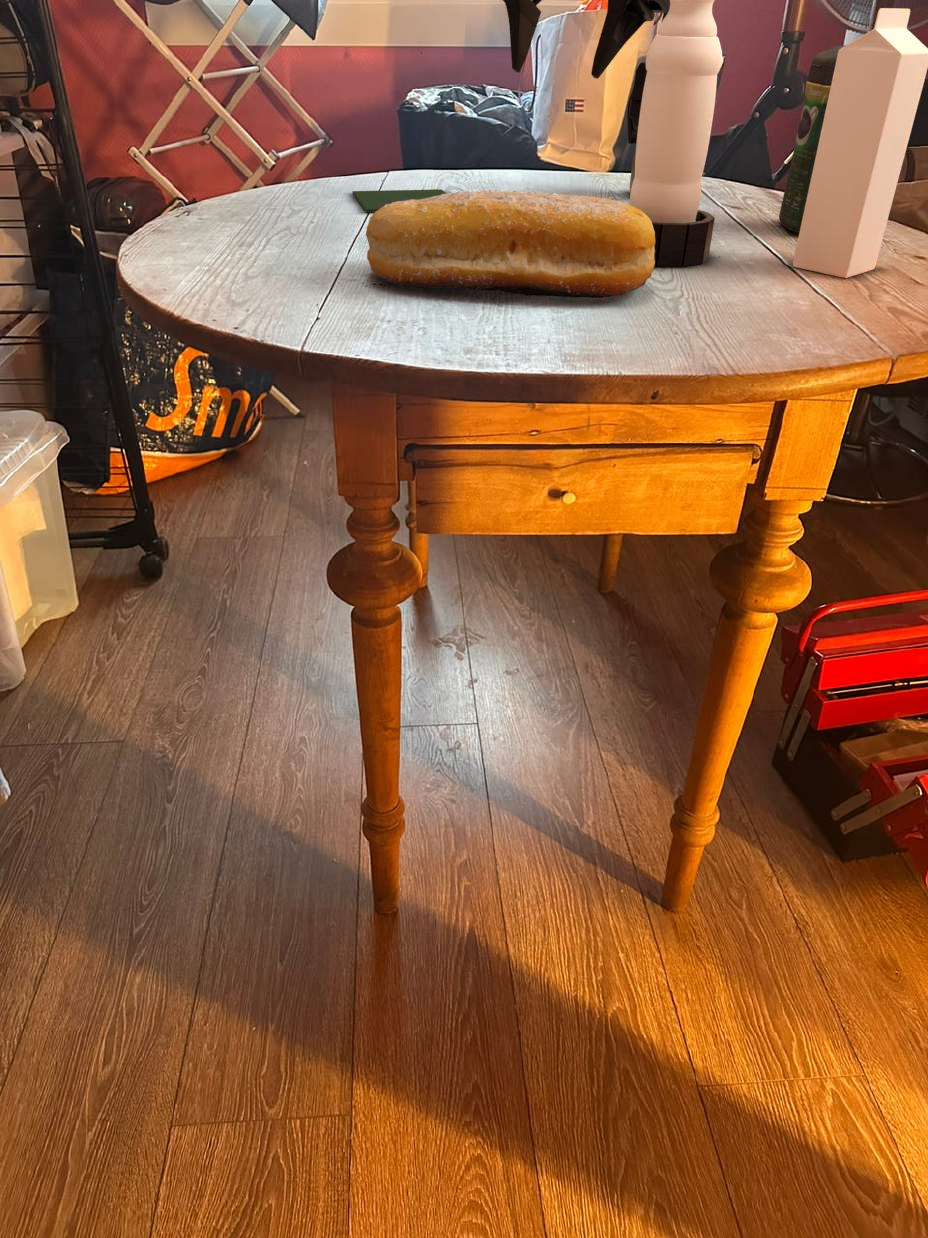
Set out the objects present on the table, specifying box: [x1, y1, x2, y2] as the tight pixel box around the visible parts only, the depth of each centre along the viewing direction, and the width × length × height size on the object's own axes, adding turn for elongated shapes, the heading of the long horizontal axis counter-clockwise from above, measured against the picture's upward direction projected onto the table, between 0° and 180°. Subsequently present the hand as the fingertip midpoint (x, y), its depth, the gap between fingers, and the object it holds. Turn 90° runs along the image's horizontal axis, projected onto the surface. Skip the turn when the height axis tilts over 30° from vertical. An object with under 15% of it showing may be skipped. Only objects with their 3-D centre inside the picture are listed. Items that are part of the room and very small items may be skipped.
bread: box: [365, 189, 655, 299], centre depth 83 cm, size 13×26×8 cm, turn 84°
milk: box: [792, 7, 928, 279], centre depth 87 cm, size 6×6×22 cm
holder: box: [652, 209, 716, 268], centre depth 95 cm, size 10×10×4 cm
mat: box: [352, 188, 448, 214], centre depth 117 cm, size 12×12×1 cm
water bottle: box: [629, 0, 723, 223], centre depth 89 cm, size 7×7×25 cm
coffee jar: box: [778, 44, 847, 234], centre depth 103 cm, size 10×8×19 cm
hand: (554, 73), depth 94 cm, fingers open, 9 cm apart
